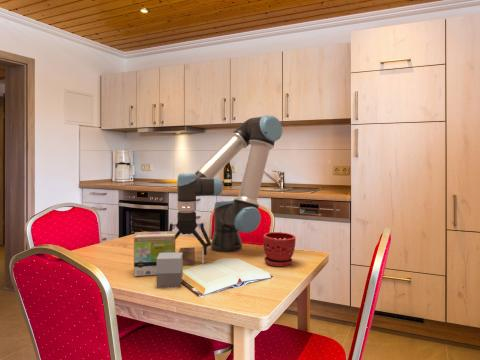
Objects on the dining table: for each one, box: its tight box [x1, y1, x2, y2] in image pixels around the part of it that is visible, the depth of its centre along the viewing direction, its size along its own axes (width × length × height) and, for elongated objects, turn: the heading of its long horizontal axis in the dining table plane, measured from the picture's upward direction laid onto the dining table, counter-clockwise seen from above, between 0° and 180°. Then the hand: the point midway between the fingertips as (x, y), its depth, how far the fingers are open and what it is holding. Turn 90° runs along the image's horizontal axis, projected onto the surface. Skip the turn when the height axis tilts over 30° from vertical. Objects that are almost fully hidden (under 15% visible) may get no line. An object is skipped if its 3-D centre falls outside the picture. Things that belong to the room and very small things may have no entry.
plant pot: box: [263, 231, 296, 267], centre depth 151 cm, size 13×13×12 cm
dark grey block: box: [155, 266, 184, 289], centre depth 126 cm, size 8×8×5 cm
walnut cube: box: [178, 247, 196, 267], centre depth 151 cm, size 6×6×6 cm
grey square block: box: [157, 251, 184, 274], centre depth 126 cm, size 8×8×5 cm
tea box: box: [133, 230, 177, 277], centre depth 139 cm, size 15×10×15 cm, turn 106°
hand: (186, 263), depth 151 cm, fingers open, 12 cm apart
